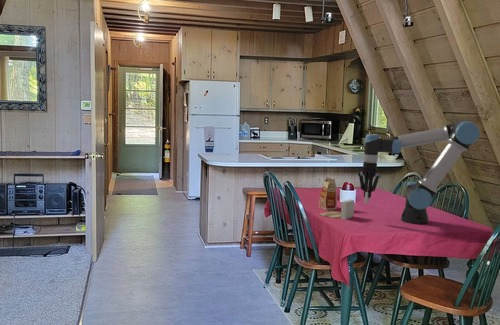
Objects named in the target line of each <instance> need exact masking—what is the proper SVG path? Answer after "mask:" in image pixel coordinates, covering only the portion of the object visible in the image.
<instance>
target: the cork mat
mask: <svg viewBox="0 0 500 325" xmlns="http://www.w3.org/2000/svg"><path fill="white" fill-rule="evenodd" d="M318 215H319V216H323V217H328V218H332V219H336V220H337V219H339V218H340V219H341V212H339V211H334V210H327V211H324V212H322V213H319V214H318Z"/></svg>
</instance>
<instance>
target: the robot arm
mask: <svg viewBox="0 0 500 325" xmlns="http://www.w3.org/2000/svg"><path fill="white" fill-rule="evenodd" d="M480 132H481V131H480V129H479V126H478V125H477V124H475V123H474V122H472V121H471V120H460V121H457V122H453V123H450V124H445V125H443V126H442V127H439V128H433V129H427V130H423V131H417V132H414V133H413V132H411V133H406V134H402V135H398V136H397V135H396V136H389V137H386V138H381V137H380V135H379V134H375V133H374V134H373V133H368V134H366V135H365V141H364V150H363V151H364V152H363V153H364V154H363V162H362V164H363V165H362V170H361V171H360V172H358V173H357V175H358V177H359V178H358V179H359V184H360V189H361V190H362V191H363V197H364V202H363V203H364V204H370V198H371V197H372V192H373V193H374V192H375V191H376V189H377V185H378V182H379V180H380V178H381V175H379V174H378V171H377V168H378V159H379V158H378V157H379V156H378V155H379V153H386V154H387V153H388V154H400V153H401V151H402V149H405V148H411V147H417V146H423V145H428V144H434V143H439V142H440V143H441V142H447V144H446V145H445V147H444V148H443V150H442V151H441V153H440V154H439V155H438V156H437V158H436V160H435V161H434V162H433V163H432V165H431V167H430V168H429V169H428V171H427V172H426V173H425V174H424V176H423V178H422V179H418V180H417V181H408V182H407V184H406V194H405V195H406V196H405V204H404V205H405V206H404V208H403V211H402V213H401V215H400V220H401V221H403V222H405V223H408V224H409V223H410V224H415V225H416V224H418V225H425V224H424V223H426V224H428V223H429V214H428V212H427V208H429V206H431V205H432V201H433V199H434V197H435V196H436V195H437V193H438V191H437V187H439V185H440V184H441V183H442V181H443V179H445V177H446V176H447V174H448V172H449V171H450V170H451V168H452V167H453V165H455V163H456V162H457V160H458V159H459V158H460V156H461V155H462V153H463V152H466V151H468V150H469V148H470V147H471V146H472V145H473V144H475V143H476V142H477V140H478V139H479V137H480Z"/></svg>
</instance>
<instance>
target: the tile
mask: <svg viewBox="0 0 500 325" xmlns="http://www.w3.org/2000/svg"><path fill="white" fill-rule="evenodd" d="M354 209H355V200H354V199H347V200H344V201H341V208H340V210H341V211H340V213H341V217H340V220H347V219H351V218H353V217H354V211H355V210H354Z"/></svg>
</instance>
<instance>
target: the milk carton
mask: <svg viewBox="0 0 500 325" xmlns="http://www.w3.org/2000/svg"><path fill="white" fill-rule="evenodd" d="M325 178H326V179H325V180H324V182H323V185H322V189H321V192H320V196H319V200H318V207H319V208H320V207H321V208H320V209H322V208H323V210H324V209H325V210H326V211H334V210H337V208H338V206H337V204H338V201H337V200H338V197H337V194H338V193H337V184H336V178H330V177H327V176H325ZM325 210H324V211H325Z"/></svg>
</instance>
